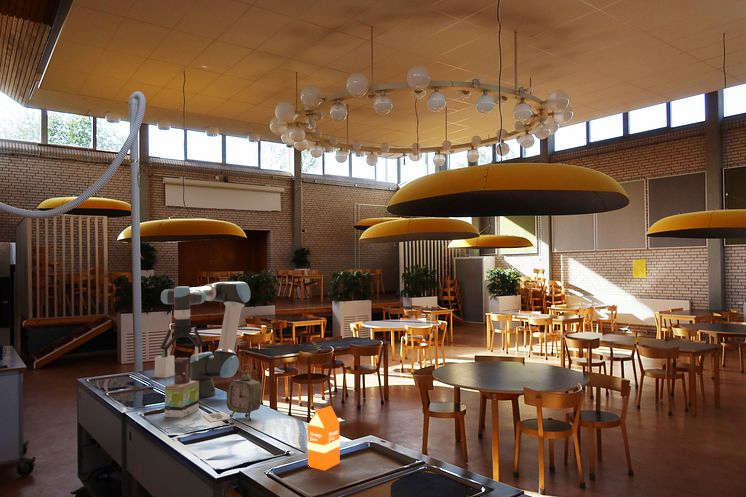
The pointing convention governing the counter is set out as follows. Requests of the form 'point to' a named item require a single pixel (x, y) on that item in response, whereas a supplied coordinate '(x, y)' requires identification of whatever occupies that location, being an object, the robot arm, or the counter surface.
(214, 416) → the card
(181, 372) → the box
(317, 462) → the orange juice
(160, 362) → the soap bottle
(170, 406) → the tea box
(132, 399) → the counter surface
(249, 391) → the tabletop clock
